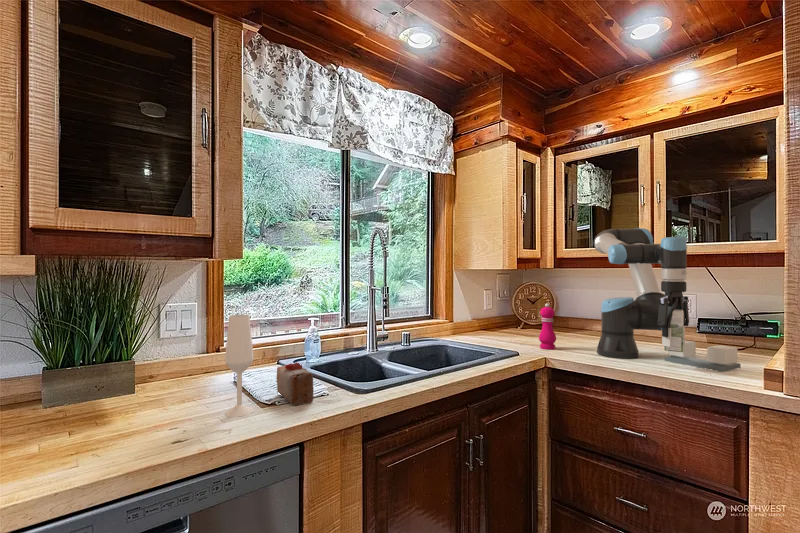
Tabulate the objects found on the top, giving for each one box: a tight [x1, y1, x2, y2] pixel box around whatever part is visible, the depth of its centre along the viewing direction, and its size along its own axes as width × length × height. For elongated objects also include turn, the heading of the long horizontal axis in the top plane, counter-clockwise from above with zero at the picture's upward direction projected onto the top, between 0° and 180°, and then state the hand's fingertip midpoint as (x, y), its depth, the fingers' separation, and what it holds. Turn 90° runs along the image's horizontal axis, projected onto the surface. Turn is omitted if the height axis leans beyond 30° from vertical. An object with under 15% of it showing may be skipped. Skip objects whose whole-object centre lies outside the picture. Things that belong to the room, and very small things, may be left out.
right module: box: [706, 344, 739, 364], centre depth 145 cm, size 6×8×5 cm
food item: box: [275, 362, 315, 406], centre depth 113 cm, size 14×8×10 cm, turn 35°
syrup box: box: [663, 309, 684, 352], centre depth 146 cm, size 6×6×14 cm
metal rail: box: [670, 355, 736, 366], centre depth 151 cm, size 19×5×1 cm, turn 27°
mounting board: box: [664, 355, 741, 373], centre depth 151 cm, size 19×12×2 cm, turn 27°
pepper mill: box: [538, 302, 557, 351], centre depth 182 cm, size 7×7×20 cm
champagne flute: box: [224, 314, 255, 418], centre depth 102 cm, size 7×7×24 cm
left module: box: [667, 339, 697, 357], centre depth 157 cm, size 6×8×5 cm
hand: (673, 344), depth 146 cm, fingers closed on syrup box, 7 cm apart
